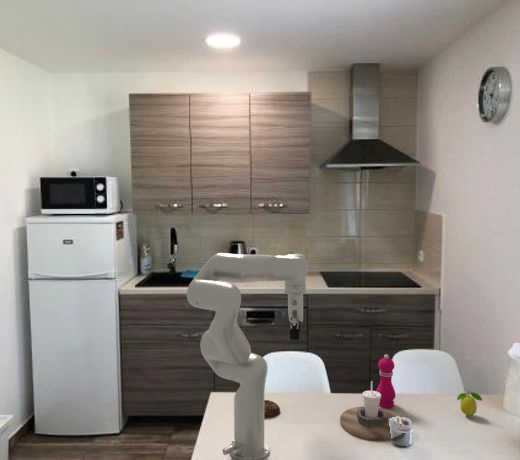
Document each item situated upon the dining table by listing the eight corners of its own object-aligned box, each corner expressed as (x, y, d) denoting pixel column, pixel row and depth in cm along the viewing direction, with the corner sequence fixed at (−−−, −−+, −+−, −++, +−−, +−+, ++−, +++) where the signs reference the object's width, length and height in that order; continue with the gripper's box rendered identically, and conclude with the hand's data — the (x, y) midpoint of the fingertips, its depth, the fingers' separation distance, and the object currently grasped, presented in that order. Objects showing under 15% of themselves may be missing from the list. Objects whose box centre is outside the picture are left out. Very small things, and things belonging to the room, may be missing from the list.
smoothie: (379, 416, 173) (379, 378, 172) (382, 425, 167) (382, 386, 166) (361, 416, 174) (361, 378, 173) (363, 424, 168) (363, 385, 167)
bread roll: (278, 419, 175) (276, 405, 175) (248, 420, 177) (246, 407, 177) (282, 407, 186) (280, 394, 186) (254, 408, 188) (252, 396, 188)
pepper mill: (375, 408, 184) (376, 356, 182) (376, 400, 191) (377, 350, 189) (395, 410, 182) (396, 358, 180) (395, 402, 189) (396, 352, 187)
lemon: (482, 418, 175) (482, 391, 174) (469, 421, 173) (470, 394, 172) (467, 410, 181) (468, 384, 181) (455, 413, 179) (456, 387, 178)
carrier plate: (381, 447, 155) (382, 435, 155) (327, 424, 171) (327, 413, 171) (416, 424, 171) (416, 413, 170) (363, 405, 186) (363, 395, 186)
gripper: (305, 293, 164) (305, 343, 166) (306, 284, 181) (305, 328, 183) (283, 293, 165) (283, 342, 166) (286, 283, 182) (285, 328, 184)
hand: (295, 335), depth 175 cm, fingers open, 9 cm apart
